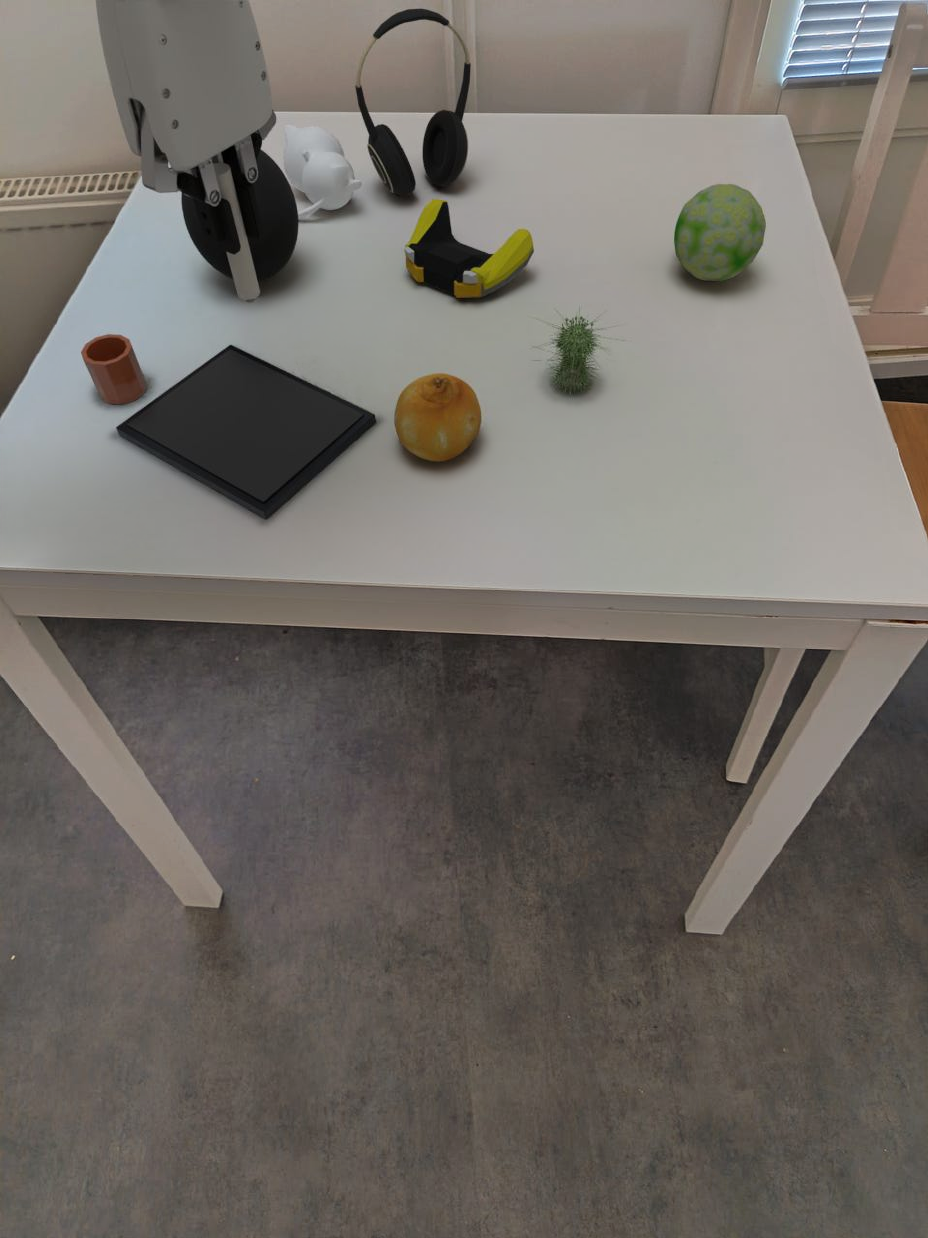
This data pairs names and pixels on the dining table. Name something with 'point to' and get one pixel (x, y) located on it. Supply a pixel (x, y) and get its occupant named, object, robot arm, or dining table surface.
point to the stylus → (242, 259)
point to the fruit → (437, 417)
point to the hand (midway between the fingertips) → (235, 238)
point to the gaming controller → (461, 256)
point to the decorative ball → (719, 232)
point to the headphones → (442, 133)
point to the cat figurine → (318, 168)
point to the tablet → (247, 429)
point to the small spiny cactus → (574, 352)
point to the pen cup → (114, 369)
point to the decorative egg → (275, 220)
